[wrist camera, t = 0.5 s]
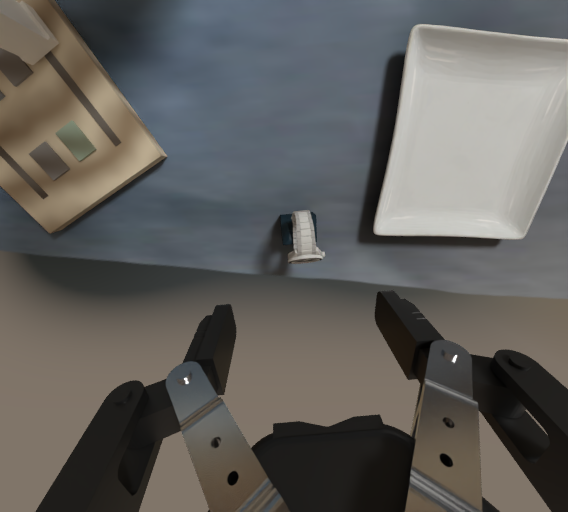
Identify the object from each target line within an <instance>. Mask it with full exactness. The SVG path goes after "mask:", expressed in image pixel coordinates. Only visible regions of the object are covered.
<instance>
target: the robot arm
mask: <svg viewBox="0 0 568 512" xmlns="http://www.w3.org/2000/svg"><path fill="white" fill-rule="evenodd" d="M375 321H376V324H377V326H378V328H379V330H380V332H381V333H382V335H383V337H384V339H385V340H386V342H387V344H388V346H389V347H390V349H391V351H392V353H393V354H394V356H395V358H396V360H397V361H398V363H399V365H400V367H401V368H402V370H403V372H404V374H405V375H406V377H407V379H408V380H411V379H418V380H419V382H420V387H419V392H418V397H417V403H416V408H415V414H414V419H413V424H412V429H411V433H410V435H408V434H407V433H405V432H403V431H401V430H399V429H397V428H395V427H392V426H389V425H385V424H383V422H382V419H381V417H380V415H369V416H357V417H352V418H350V419H347V420H345V421H342V422H339V423H337V424H335V425H332V426H329V427H325V426H320V425H315V424H309V423H305V422H300V421H298V422H287V423H275V424H273V433H272V434H269V435H267V436H266V437H264V438H262V439H261V440H260V441H258V442H257V443H256V444H255V445H254V446H253V447H252V448H250V446H249V444H248V442H247V441H246V439H245V437H244V436H243V434H242V432H241V431H240V429H239V427H238V425H237V424H236V422H235V420H234V418H233V417H232V415H231V413H230V412H229V410H228V408H227V407H226V405H225V403H224V402H223V400H222V399H221V398H219V397H218V396H217V395H224V392H225V387H226V383H227V377H228V373H229V368H230V364H231V359H232V354H233V349H234V344H235V339H236V324H235V320H234V315H233V311H232V307H231V305H230V304H226V305H217V306H216V307H215V309H214V312H213V314H212V315H209V316H206V317H205V318H204V319H203V320H202V321H201V322H200V324H199V326H198V329H197V332H196V333H195V335H194V339H193V340H192V342H191V345H190V347H189V349H188V352H187V354H186V356H185V359H184V361H183V363H182V364H180V365H179V366H177V367H175V368H174V369H173V370H172V371H171V373H169V375H168V377H167V379H165V380H162V381H160V382H157V383H154V384H152V385H149V386H146V387H144V386H143V384H142V383H141V382H140V381H129V382H126V383H124V384H122V385H120V386H118V387H117V388H116V389H114V390H113V391H112V392H111V393H110V394H109V395H108V396H107V397H106V399H105V400H104V402H103V403H102V405H101V407H100V408H99V410H98V412H97V413H96V415H95V416H94V418H93V419H92V421H91V423H90V424H89V426H88V428H87V429H86V431H85V432H84V434H83V436H82V437H81V439H80V441H79V442H78V444H77V446H76V447H75V449H74V450H73V452H72V454H71V455H70V457H69V458H68V460H67V462H66V463H65V465H64V466H63V468H62V470H61V471H60V473H59V475H58V476H57V478H56V479H55V481H54V483H53V484H52V486H51V487H50V489H49V491H48V492H47V494H46V495H45V497H44V499H43V500H42V502H41V504H40V505H39V507H38V508H37V510H36V512H139V509H140V506H141V503H142V500H143V497H144V494H145V491H146V488H147V485H148V482H149V479H150V476H151V473H152V470H153V467H154V464H155V461H156V458H157V455H158V452H159V449H160V445H161V443H162V440H163V438H165V437H168V436H170V435H172V434H174V433H177V432H179V431H181V432H182V435H183V438H184V440H185V443H186V446H187V448H188V451H189V454H190V457H191V460H192V463H193V465H194V468H195V471H196V473H197V476H198V479H199V482H200V484H201V487H202V490H203V493H204V495H205V498H206V501H207V504H208V507H209V511H208V512H499V510H497V509H496V508H495V507H494V506H493V505H492V504H490V503H489V502H488V501H487V500H485V498H483V497H482V488H481V464H480V463H481V462H480V438H479V411H480V412H481V413H482V415H483V416H484V417H485V419H486V420H487V422H488V423H489V425H490V426H491V427H492V429H493V430H494V432H495V433H496V434H497V436H498V437H499V439H500V440H501V441H502V443H503V444H504V446H505V447H506V448H507V450H508V451H509V452H510V454H511V455H512V457H513V458H514V460H515V461H516V462H517V464H518V465H519V467H520V468H521V469H522V471H523V472H524V474H525V475H526V476H527V478H528V479H529V481H530V482H531V483H532V485H533V486H534V488H535V489H536V490H537V492H538V493H539V495H540V496H541V497H542V499H543V500H544V502H545V503H546V504H547V506H548V507H549V509H550V510H551V511H552V512H568V389H567V388H566V387H564V386H563V385H562V384H561V383H560V382H559V381H558V380H556V379H555V378H554V377H553V376H552V375H551V374H549V372H547V371H546V370H545V369H544V368H543V367H542V366H540V365H539V364H538V363H537V362H536V361H534V360H533V359H531V358H530V357H528V356H526V355H524V354H521V353H519V352H516V351H512V350H499V351H497V352H496V353H495V355H494V357H493V358H489V357H483V356H477V355H472V354H469V353H468V352H467V350H465V349H464V348H463V347H461V346H460V345H458V344H456V343H454V342H451V341H447V340H445V339H444V338H443V337H442V336H441V335H440V334H439V333H438V331H437V330H436V329H435V328H434V327H433V326H432V325H431V324H430V323H429V321H428V320H427V319H425V317H424V316H423V314H422V313H420V311H419V310H418V309H417V308H416V306H415V305H414V304H412V303H411V302H409V301H407V300H406V299H400V298H399V296H398V295H397V294H396V293H395V292H394V291H393V290H391V291H379V292H378V293H377V298H376V307H375ZM526 409H527V410H528V411H529V412H530V413H531V414H532V416H534V418H535V419H536V420H537V421H538V422H539V423H540V425H541V426H542V427H543V428H544V429H545V431H546V433H547V434H548V436H547V434H546V433H545V432H544V431H543V430H542V429H541V428H540V427H539V426H538V424H537V423H536V422H535V421H534V420H533V419H532V418H531V416H530V415H529V414H528V413H527V412H526V411H525V410H526Z"/></svg>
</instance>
